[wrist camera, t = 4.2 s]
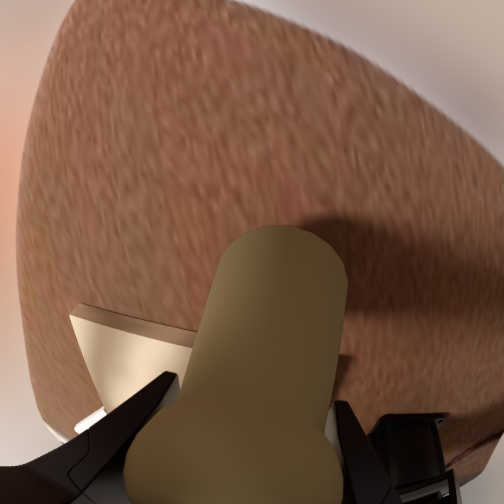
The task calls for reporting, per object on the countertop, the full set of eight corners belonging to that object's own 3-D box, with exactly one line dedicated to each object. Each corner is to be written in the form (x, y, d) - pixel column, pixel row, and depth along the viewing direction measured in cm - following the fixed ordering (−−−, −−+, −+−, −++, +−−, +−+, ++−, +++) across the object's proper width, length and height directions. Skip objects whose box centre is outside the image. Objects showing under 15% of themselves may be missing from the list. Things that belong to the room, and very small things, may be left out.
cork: (351, 333, 14) (350, 564, 5) (234, 341, 16) (158, 540, 6) (341, 215, 12) (373, 527, 2) (200, 235, 14) (33, 453, 4)
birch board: (331, 353, 18) (332, 370, 17) (295, 447, 24) (293, 460, 23) (80, 303, 20) (69, 314, 19) (114, 405, 26) (108, 415, 25)
